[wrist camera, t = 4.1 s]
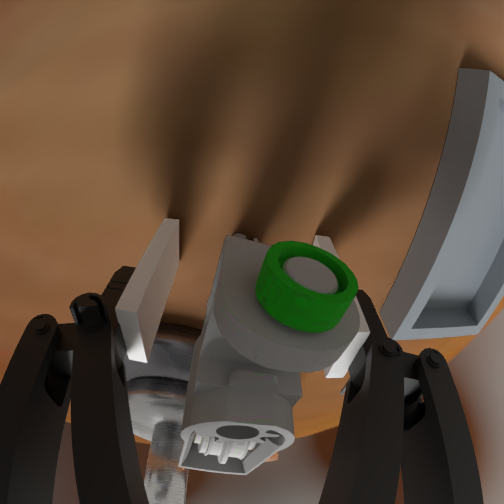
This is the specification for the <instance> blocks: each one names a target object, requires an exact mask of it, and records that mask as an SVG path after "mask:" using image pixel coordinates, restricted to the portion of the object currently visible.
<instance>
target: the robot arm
mask: <svg viewBox="0 0 504 504" xmlns="http://www.w3.org/2000/svg"><path fill="white" fill-rule="evenodd" d="M313 246H316V247H319V248H321V249H323V250H325V251H327V252H329V253H331V254H332V255H334V256H336V257H337V258H338V259H339V256H338V254H337V252H336V250H335V248H334V246H333V243H332V241H331V239H330V237H327V236H320V235H315V239H314V242H313ZM178 267H179V219H168V218H164V220H163V222H162V223H161V225H160V227H159V228H158V230H157V232H156V233H155V235H154V237H153V239H152V240H151V242H150V244H149V246H148V247H147V249H146V251H145V253H144V254H143V256H142V258H141V260H140V262H139V263H138V265H137V267H136V268H135V267H128V266H123V267H121V268H120V269H119V270H117V271H116V272H115V273H114V275H113V276H112V278H111V280H110V282H109V283H108V285H107V287H106V288H105V290H104V292H103V293H102V295H99V294H97V293H86V294H82V295H80V296H78V297H76V298H75V299H74V300H73V301H72V302H71V305H70V307H69V308H70V310H71V313H72V316H73V319H74V321H75V323H67V324H58V323H57V321H56V319H55V318H54V317H53V316H51V315H49V314H41V315H38V316H36V317H34V318H33V319H32V320H31V321H30V322H29V323H28V325H27V327H26V329H25V331H24V333H23V335H22V337H21V339H20V341H19V343H18V345H17V347H16V349H15V351H14V354H13V356H12V358H11V360H10V363H9V365H8V367H7V370H6V372H5V374H4V377H3V379H2V382H1V384H0V504H52V499H53V490H54V481H55V474H56V466H57V460H58V454H59V449H60V443H61V438H62V433H63V429H64V424H65V420H66V415H67V411H68V407H69V403H70V399H71V431H72V448H73V459H74V469H75V476H76V484H77V490H78V496H79V502H80V504H149V501H148V498H147V494H146V490H145V486H144V482H143V479H142V474H141V469H140V465H139V460H138V456H137V450H136V445H135V440H134V434H133V428H132V421H131V415H130V407H129V400H128V391H127V381H126V370H125V365H124V362H123V359H124V357H125V354H126V351H127V355H128V358H129V360H134V361H139V362H144V363H148V360H149V356H150V353H151V349H152V346H153V343H154V340H155V336H156V333H157V330H158V327H159V323H160V320H161V317H162V314H163V311H164V308H165V305H166V302H167V299H168V296H169V293H170V290H171V287H172V284H173V281H174V279H175V276H176V273H177V270H178ZM354 301H355V303H356V306H357V308H358V312H359V315H360V327H359V331H358V333H357V335H356V336H355V338H354V339H353V341H352V342H351V343H350V345H349V346H348V347H347V349H346V350H345V351H344V352H343V354H342V355H341V356H340V358H339V359H338V360H337V361H336V362H335V363H333V364H332V365H331V366H329V367H327V368H325V369H324V373H325V378H343V377H344V375H345V374H346V372H347V371H348V369H349V373H350V379H349V380H348V382H347V383H346V385H345V386H344V388H343V389H342V390H341V393H340V395H343V393H344V392H345V396H344V402H343V407H342V413H341V418H340V423H339V428H338V432H337V437H336V441H335V446H334V450H333V454H332V458H331V462H330V466H329V470H328V473H327V477H326V481H325V484H324V488H323V491H322V494H321V498H320V501H319V504H395V499H396V493H397V487H398V479H399V472H400V464H401V471H402V480H403V491H404V502H405V503H404V504H483V496H482V489H481V483H480V477H479V471H478V466H477V461H476V457H475V452H474V448H473V443H472V440H471V436H470V432H469V428H468V424H467V421H466V418H465V414H464V411H463V408H462V405H461V401H460V399H459V396H458V392H457V389H456V386H455V384H454V381H453V378H452V376H451V373H450V370H449V367H448V365H447V362H446V360H445V358H444V356H443V355H442V354H441V353H440V352H439V351H437V350H435V349H431V348H427V349H424V350H423V351H422V352H421V353H420V355H419V356H418V355H414V354H410V353H406V352H403V351H402V348H401V346H400V345H399V344H398V343H397V342H396V341H395V340H393V339H391V338H388V337H387V335H386V332H385V330H384V328H383V325H382V323H381V321H380V319H379V316H378V314H377V312H376V310H375V308H374V305H373V303H372V301H371V299H370V297H369V296H368V295H367V294H366V293H365V292H364V291H363V290H358V291H357V294H356V296H355V298H354ZM421 396H423V398H424V402H422V399H421Z"/></svg>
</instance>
